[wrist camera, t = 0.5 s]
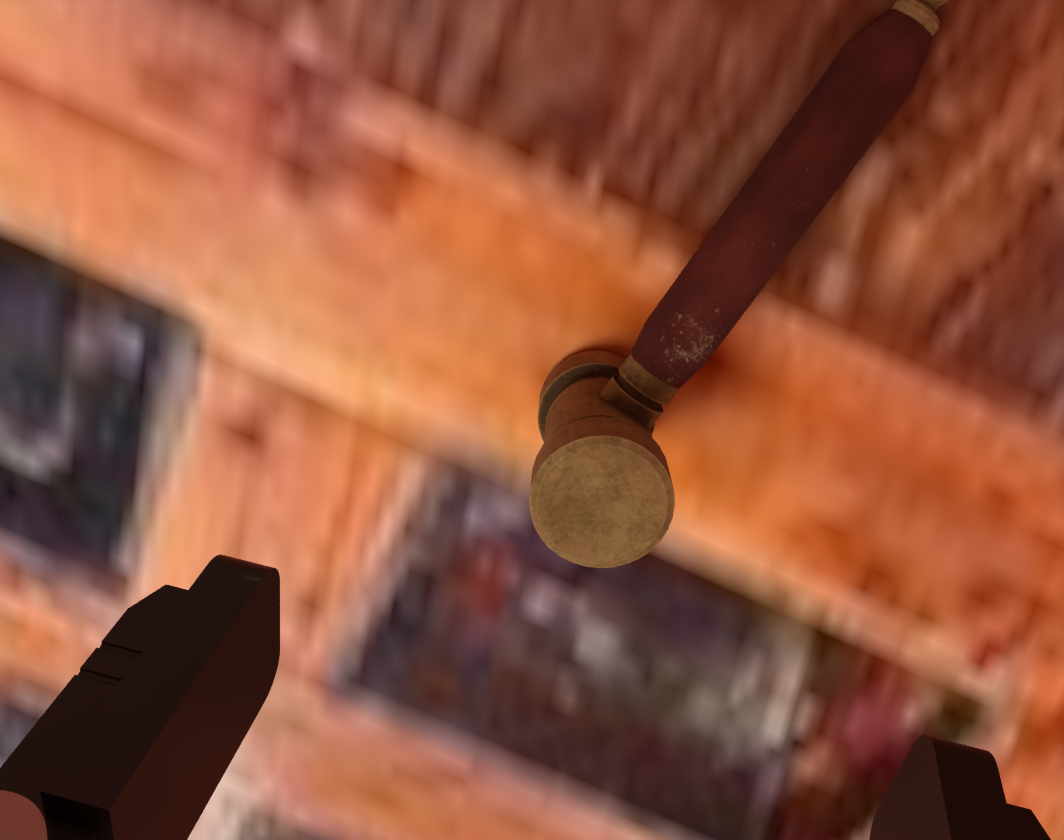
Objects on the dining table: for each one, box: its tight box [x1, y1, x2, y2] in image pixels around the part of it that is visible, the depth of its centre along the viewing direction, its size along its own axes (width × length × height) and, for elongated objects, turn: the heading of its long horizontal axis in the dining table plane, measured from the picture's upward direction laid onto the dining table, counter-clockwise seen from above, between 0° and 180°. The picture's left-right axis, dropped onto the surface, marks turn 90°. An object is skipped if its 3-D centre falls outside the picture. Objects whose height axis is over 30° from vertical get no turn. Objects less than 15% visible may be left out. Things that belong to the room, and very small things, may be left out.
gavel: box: [529, 0, 948, 568], centre depth 33 cm, size 21×5×10 cm, turn 148°
